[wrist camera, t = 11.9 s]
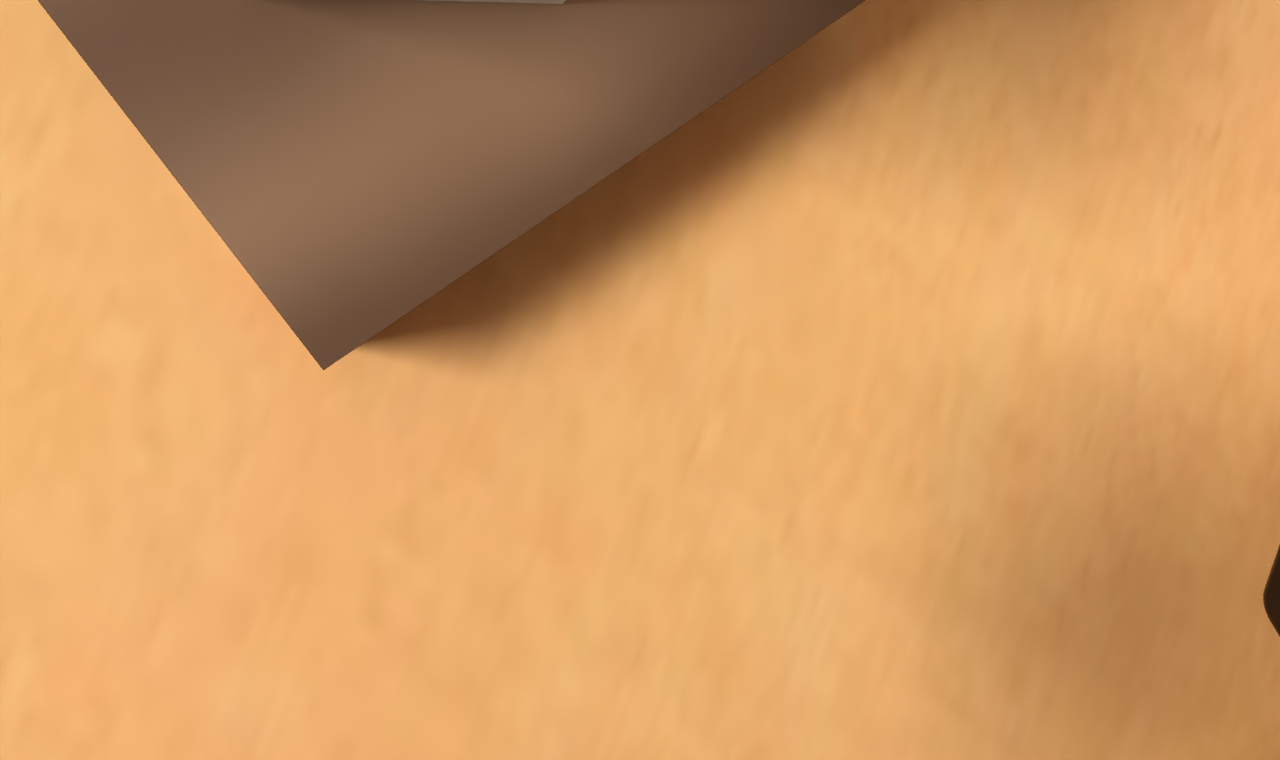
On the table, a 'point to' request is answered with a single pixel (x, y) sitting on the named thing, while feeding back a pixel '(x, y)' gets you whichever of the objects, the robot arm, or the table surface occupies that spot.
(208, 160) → the walnut block
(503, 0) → the pale grey tall block
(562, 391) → the table surface
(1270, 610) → the robot arm
